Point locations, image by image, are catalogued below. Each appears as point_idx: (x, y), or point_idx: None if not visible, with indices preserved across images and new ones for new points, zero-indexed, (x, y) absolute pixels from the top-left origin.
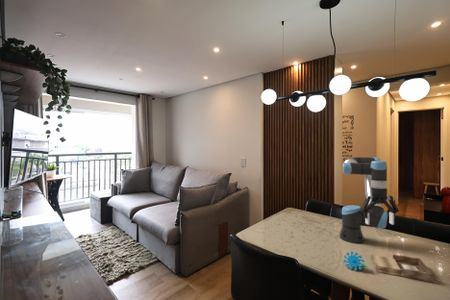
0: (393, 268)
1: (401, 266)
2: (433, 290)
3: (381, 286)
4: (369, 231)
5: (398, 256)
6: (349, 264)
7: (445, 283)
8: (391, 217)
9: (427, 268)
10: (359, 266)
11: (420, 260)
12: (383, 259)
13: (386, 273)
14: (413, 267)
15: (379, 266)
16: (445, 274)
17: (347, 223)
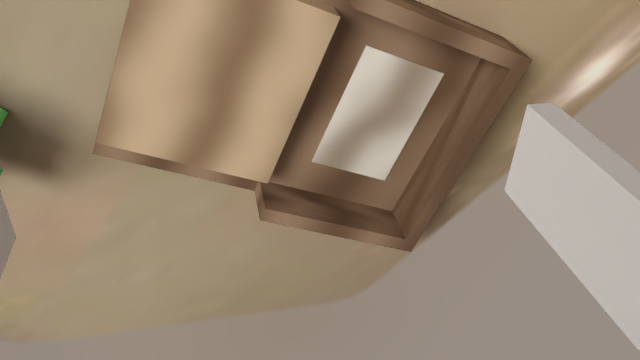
0: (222, 171)
1: (339, 78)
2: (331, 275)
3: (53, 285)
4: None
5: (389, 20)
6: None
7: (453, 216)
8: (595, 259)
9: (443, 193)
10: None
11: (504, 92)
12: (226, 40)
13: (161, 165)
14: (416, 90)
15: (125, 148)
16: None
17: None
